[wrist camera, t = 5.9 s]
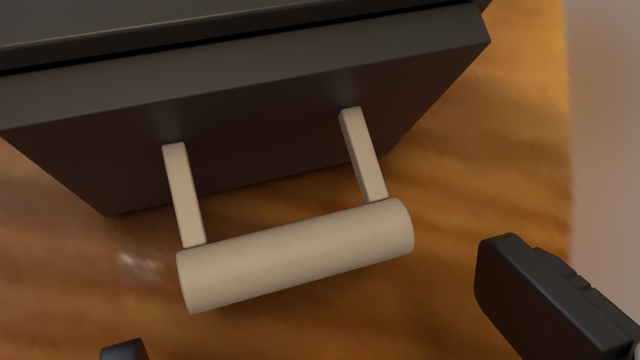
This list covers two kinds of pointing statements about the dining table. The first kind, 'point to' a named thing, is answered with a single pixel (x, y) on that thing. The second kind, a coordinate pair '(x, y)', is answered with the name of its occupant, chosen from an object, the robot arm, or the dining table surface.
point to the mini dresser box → (247, 134)
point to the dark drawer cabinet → (157, 23)
